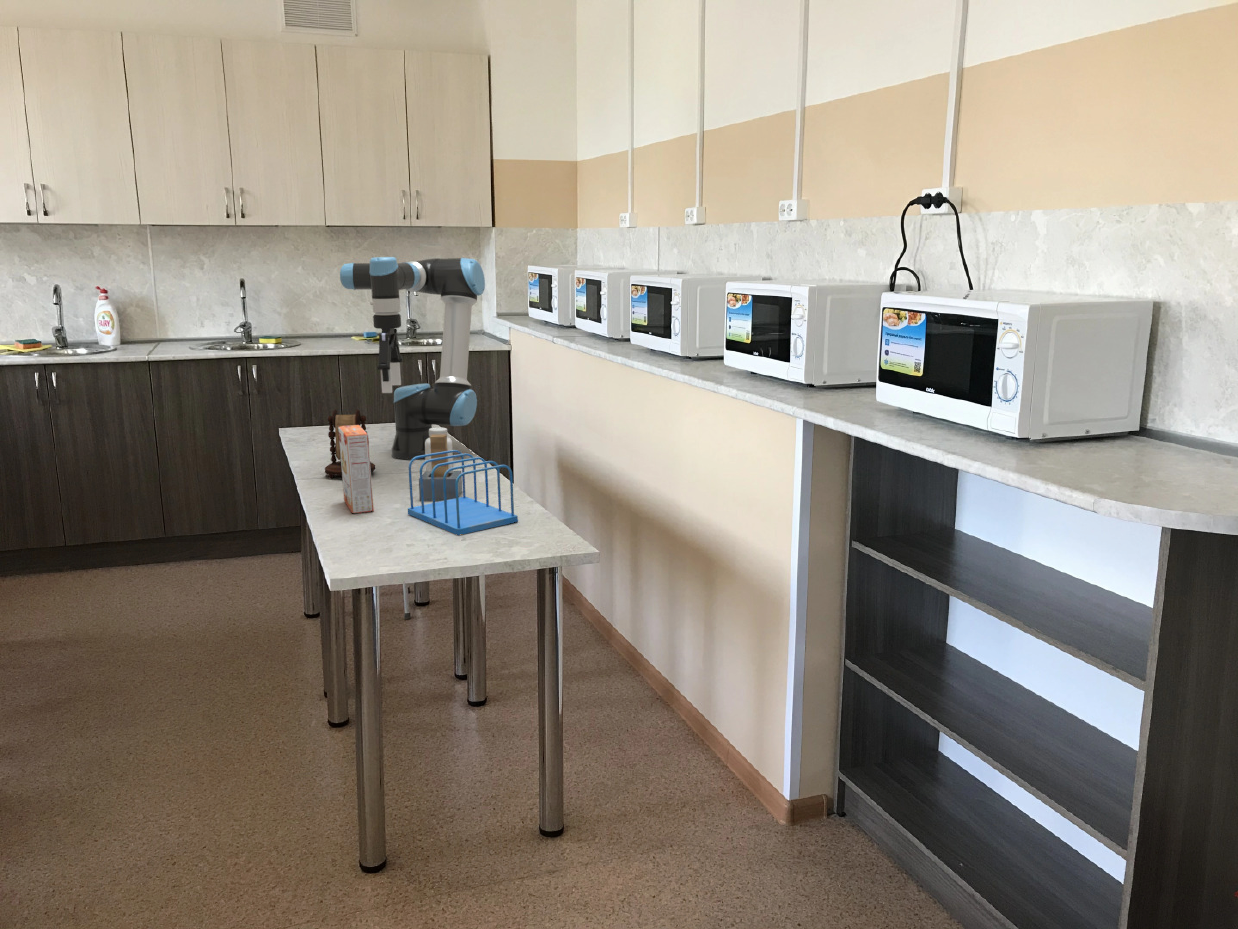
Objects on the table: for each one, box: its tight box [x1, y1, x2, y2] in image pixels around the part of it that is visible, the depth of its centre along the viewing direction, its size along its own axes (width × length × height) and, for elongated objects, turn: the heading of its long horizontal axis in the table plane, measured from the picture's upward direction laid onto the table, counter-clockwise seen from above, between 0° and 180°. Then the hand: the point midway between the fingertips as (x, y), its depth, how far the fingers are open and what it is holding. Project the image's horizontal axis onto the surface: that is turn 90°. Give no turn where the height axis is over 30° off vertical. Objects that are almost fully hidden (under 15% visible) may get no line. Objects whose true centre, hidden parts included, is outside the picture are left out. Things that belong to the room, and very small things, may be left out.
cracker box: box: [338, 424, 374, 514], centre depth 259 cm, size 14×6×21 cm, turn 23°
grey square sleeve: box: [418, 470, 463, 502], centre depth 271 cm, size 10×10×6 cm
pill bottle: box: [424, 426, 454, 471], centre depth 290 cm, size 8×8×15 cm
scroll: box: [324, 408, 377, 480], centre depth 296 cm, size 15×15×20 cm
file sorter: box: [407, 449, 519, 536], centre depth 248 cm, size 25×17×15 cm
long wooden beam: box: [430, 433, 449, 477], centre depth 270 cm, size 3×4×16 cm
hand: (391, 388), depth 280 cm, fingers open, 13 cm apart
